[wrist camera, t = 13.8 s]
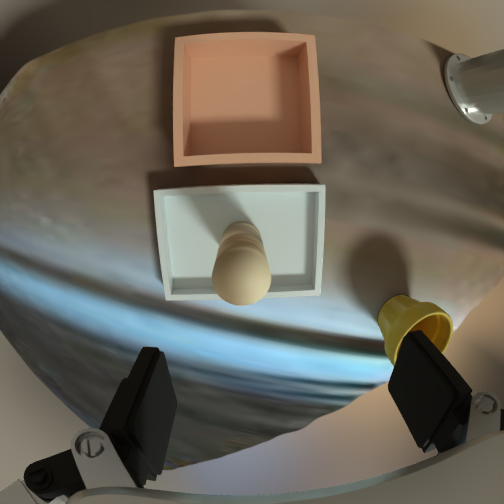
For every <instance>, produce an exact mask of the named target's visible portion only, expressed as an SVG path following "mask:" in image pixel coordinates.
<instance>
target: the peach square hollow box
mask: <svg viewBox="0 0 504 504" xmlns="http://www.w3.org/2000/svg"><path fill="white" fill-rule="evenodd" d="M173 145H174V167H189V166H204V165H223V164H255V163H302V164H313V163H321V122H320V99H319V81H318V67H317V55H316V44H315V35H305V34H294V33H277V32H229V33H212V34H200V35H191V36H183V37H176V38H175V51H174V77H173Z"/></svg>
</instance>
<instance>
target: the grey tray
mask: <svg viewBox="0 0 504 504" xmlns="http://www.w3.org/2000/svg"><path fill="white" fill-rule="evenodd" d="M154 204H155V216H156V227H157V237H158V246H159V255H160V263H161V270H162V278H163V285H164V291H165V298H166V300H223V299H222V298H220V297H219V296H218V294H217V293H216V291H215V290H214V287H213V284H212V272H213V268H214V264H215V260H216V256H217V252H218V248H219V244H220V241H221V237H222V234H223V231H224V230H225V229H226V227H227V226H229V225H230V224H232V223H234V222H238V221H245V222H249V223H251V224H253V225H254V226H255V227H256V228H257V229H258V230H259V232H260V235H261V238H262V242H263V246H264V249H265V253H266V257H267V261H268V264H269V268H270V272H271V284H270V287H269V290H268V291H267V293H266V294H265V295H264V297H263V298H280V297H299V296H316V295H320V294H321V281H322V266H323V248H324V225H325V185H323V184H307V183H274V184H232V185H209V186H191V187H177V188H163V189H157V190H154Z"/></svg>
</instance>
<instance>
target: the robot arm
mask: <svg viewBox="0 0 504 504" xmlns="http://www.w3.org/2000/svg"><path fill="white" fill-rule="evenodd" d="M444 76H445V82H446V86H447V89H448V92H449V95H450V97H451V99H452V101H453V103H454V104H455V106H456V108H457V109H458V110H459V112H460V113H461V114H462V115H463V116H464V117H465V118H466V119H467V120H469V121H470V122H472V123H475V124H484V123H487V122H488V121H489V120H490V119H491V117H492V115H493V114H498V113H504V49H502V50H498V51H495V52H491V53H488V54H484V55H481V56H478V57H475V58H472V59H471V58H470V57H468V56H466V55H464V54H454V55H452V56H450V57H449V58H448V59H447V61H446V63H445V67H444ZM388 390H389V392H390V394H391V396H392V398H393V400H394V402H395V403H396V405H397V407H398V409H399V411H400V413H401V415H402V417H403V418H404V420H405V422H406V424H407V426H408V428H409V430H410V432H411V434H412V436H413V438H414V440H415V441H416V444H417V446H418V447H420V448H422V450H423V452H424V453H426V452H428V451H431V450H433V449H435V448H437V450H438V452H437V455H436V456H434V457H431V458H429V459H427V460H424V461H421V462H418V463H416V464H413V465H410V466H408V467H405V468H402V469H399V470H396V471H393V472H390V473H386V474H383V475H380V476H376V477H372V478H369V479H365V480H361V481H357V482H353V483H348V484H343V485H339V486H333V487H328V488H323V489H316V490H310V491H301V492H293V493H283V494H269V495H244V496H243V495H238V496H237V495H235V496H234V495H233V496H232V495H204V494H190V493H179V492H170V491H162V490H152V489H145V488H144V486H143V485H145V484H146V480H152V481H156V477H157V475H160V474H161V473H162V470H163V465H164V461H165V456H166V451H167V447H168V443H169V438H170V434H171V429H172V425H173V421H174V417H175V412H176V408H177V399H176V396H175V392H174V389H173V385H172V381H171V378H170V374H169V370H168V366H167V363H166V359H165V355H164V352H163V351H160V350H159V348H157V347H143V348H142V349H141V351H140V354H139V356H138V358H137V360H136V362H135V364H134V366H133V368H132V370H131V372H130V374H129V376H128V378H124V379H123V380H122V381H121V383H120V385H119V387H118V390H117V392H116V394H115V396H114V398H113V400H112V402H111V404H110V406H109V409H108V411H107V413H106V415H105V417H104V420H103V422H102V424H101V426H100V428H99V429H96V428H88V429H83V430H81V431H79V432H78V433H77V434H76V435H74V437H73V439H72V441H71V449H69V450H67V451H64V452H61V453H59V454H56V455H53V456H51V457H48V458H45V459H42V460H39V461H36V462H34V463H32V464H30V465H29V466H28V467H27V468H26V470H25V473H24V480H23V481H20V480H19V479H18V480H17V481H15V482H14V483H12V484H11V485H10V486H8V487H7V488H5V489H4V490H2V491H1V492H0V504H504V410H503V409H501V406H500V402H499V400H498V398H497V397H496V396H495V395H493V394H492V393H489V392H487V391H482V392H477V393H476V394H474V396H473V397H472V395H471V392H472V389H471V388H470V387H469V385H468V384H467V383H466V382H465V381H464V379H463V378H462V377H461V375H460V374H459V373H458V372H457V371H456V369H455V368H454V367H453V366H452V365H451V364H450V362H449V361H448V360H447V359H446V358H445V356H444V355H443V354H442V353H441V352H440V351H439V350H438V348H437V347H436V346H435V345H434V344H433V343H432V342H431V340H430V339H429V338H428V337H427V336H426V335H425V334H424V333H423V331H421V330H416V331H411V332H408V333H407V334H406V336H404V337H403V339H402V343H401V346H400V349H399V353H398V356H397V359H396V362H395V366H394V369H393V372H392V375H391V377H390V380H389V383H388Z"/></svg>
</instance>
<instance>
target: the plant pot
mask: <svg viewBox="0 0 504 504" xmlns="http://www.w3.org/2000/svg"><path fill="white" fill-rule="evenodd" d="M378 324H379V327H380V330H381V332H382V335H383V337H384V340H385V352H386V355H387V356H388V358H389V360H390V361H391V363H392V364H393V366H395V362H396V359H397V356H398V353H399V349H400V346H401V343H402V339H403V337H404V336H406V334H407V333H408V332H411V331H416V330H421V331H423V333H424V334H425V335H426V336H427V337H428V338H429V339H430V340H431V342H432V343H433V344H434V345H435V346H436V347H437V348H438V350H439V351H440V352H441V353H442V354H443V353H444V351H445V350H446V348H447V346H448V344H449V342H450V339H451V336H452V332H453V323H452V320H451V318H450V316H449V315H448V314H447V313H446V312H445V311H444V310H442V309H441V308H440V307H438V306H437V305H435V304H433V303H430V302H419V301H417V300H414V299H412V298H410V297H407V296H405V295H397V296H394V297H392V298H391V299H389V300H388V301H387V302H386V303H385V304H384V305H383V306H382V308H381V310H380V312H379V315H378Z"/></svg>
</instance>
